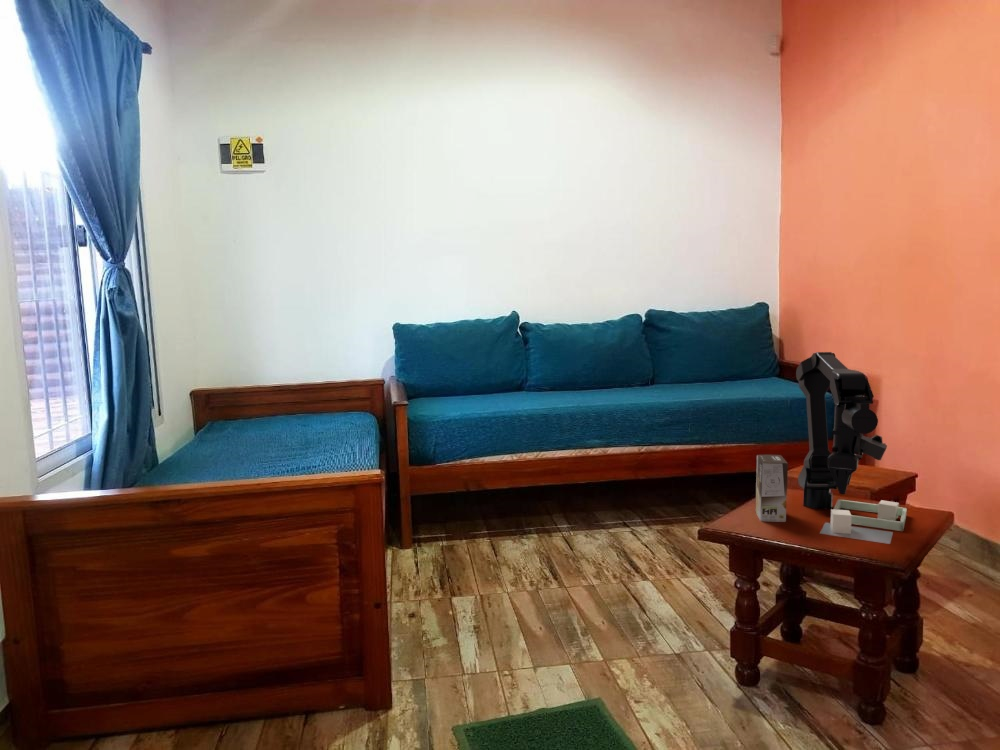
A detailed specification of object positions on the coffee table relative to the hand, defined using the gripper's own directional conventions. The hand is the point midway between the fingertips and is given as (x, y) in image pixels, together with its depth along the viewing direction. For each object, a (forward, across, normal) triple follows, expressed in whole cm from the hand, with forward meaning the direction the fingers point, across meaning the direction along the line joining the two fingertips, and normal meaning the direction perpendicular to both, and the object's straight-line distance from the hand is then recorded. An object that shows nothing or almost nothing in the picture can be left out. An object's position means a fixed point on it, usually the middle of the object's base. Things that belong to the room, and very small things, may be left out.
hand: (844, 489), depth 181 cm
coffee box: (+11, +4, +17) cm, 21 cm away
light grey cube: (+10, +15, -9) cm, 20 cm away
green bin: (+11, +13, -5) cm, 17 cm away
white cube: (+10, 0, 0) cm, 10 cm away
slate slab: (+11, 0, -3) cm, 12 cm away
